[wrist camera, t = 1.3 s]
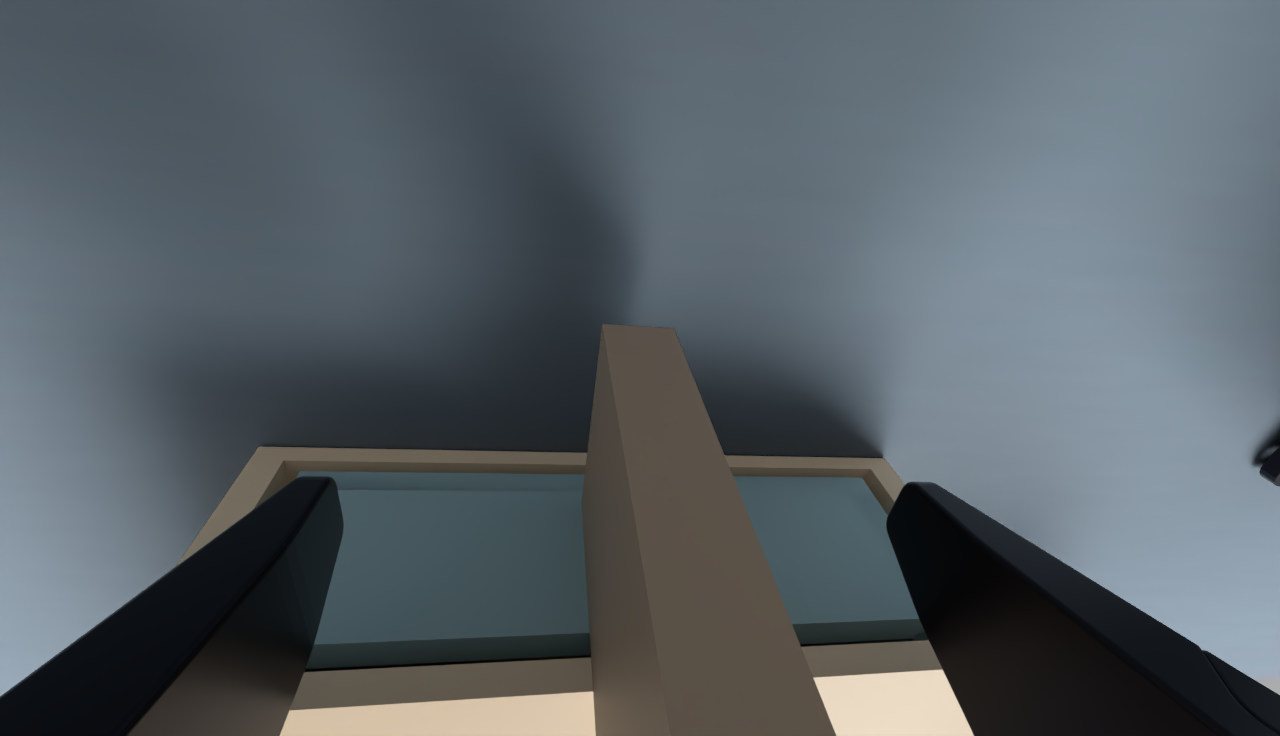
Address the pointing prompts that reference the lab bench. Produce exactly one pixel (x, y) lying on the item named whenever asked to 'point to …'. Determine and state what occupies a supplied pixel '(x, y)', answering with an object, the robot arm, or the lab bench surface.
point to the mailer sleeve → (562, 688)
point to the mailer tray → (623, 566)
